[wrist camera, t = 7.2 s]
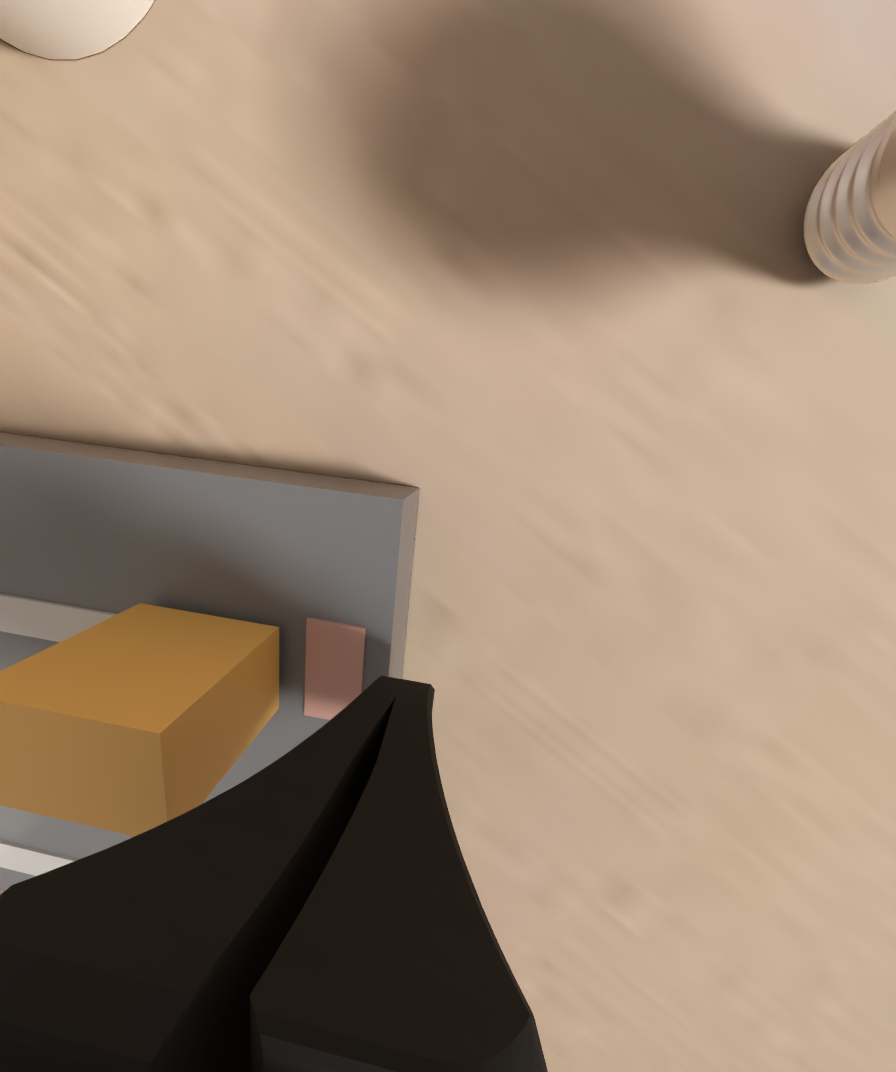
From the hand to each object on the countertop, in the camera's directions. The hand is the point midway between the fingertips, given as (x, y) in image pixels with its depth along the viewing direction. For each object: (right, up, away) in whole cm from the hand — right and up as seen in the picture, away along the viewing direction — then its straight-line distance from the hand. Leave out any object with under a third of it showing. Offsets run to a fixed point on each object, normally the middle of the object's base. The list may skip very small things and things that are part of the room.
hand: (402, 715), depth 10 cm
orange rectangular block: (-5, +1, +1) cm, 6 cm away
